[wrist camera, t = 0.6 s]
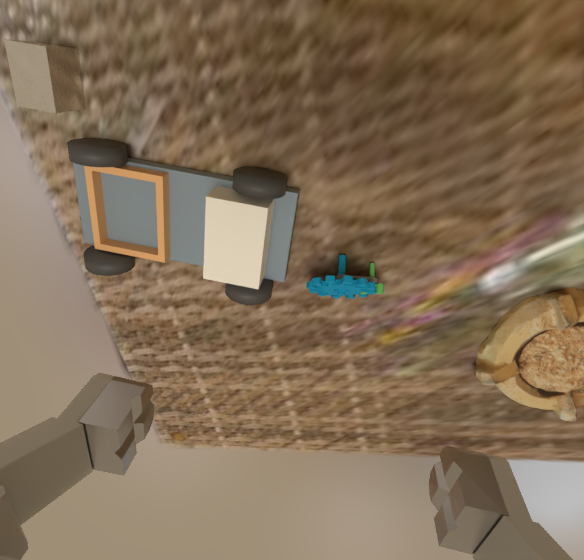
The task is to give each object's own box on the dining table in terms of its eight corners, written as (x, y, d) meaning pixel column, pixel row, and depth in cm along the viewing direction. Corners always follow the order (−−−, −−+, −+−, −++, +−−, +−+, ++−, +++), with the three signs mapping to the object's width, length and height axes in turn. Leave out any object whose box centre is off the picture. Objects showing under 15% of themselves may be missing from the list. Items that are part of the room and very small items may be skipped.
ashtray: (515, 423, 68) (526, 447, 64) (447, 334, 61) (454, 354, 57) (669, 368, 58) (695, 392, 54) (609, 255, 51) (633, 272, 47)
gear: (303, 298, 59) (310, 282, 50) (305, 262, 61) (313, 240, 51) (372, 305, 60) (393, 290, 50) (373, 269, 61) (393, 248, 52)
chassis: (78, 133, 53) (43, 142, 47) (302, 175, 52) (295, 189, 45) (93, 248, 62) (65, 268, 56) (284, 286, 60) (276, 311, 54)
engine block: (41, 42, 48) (4, 39, 43) (78, 49, 48) (45, 46, 43) (51, 102, 52) (17, 106, 46) (86, 108, 51) (56, 113, 46)
